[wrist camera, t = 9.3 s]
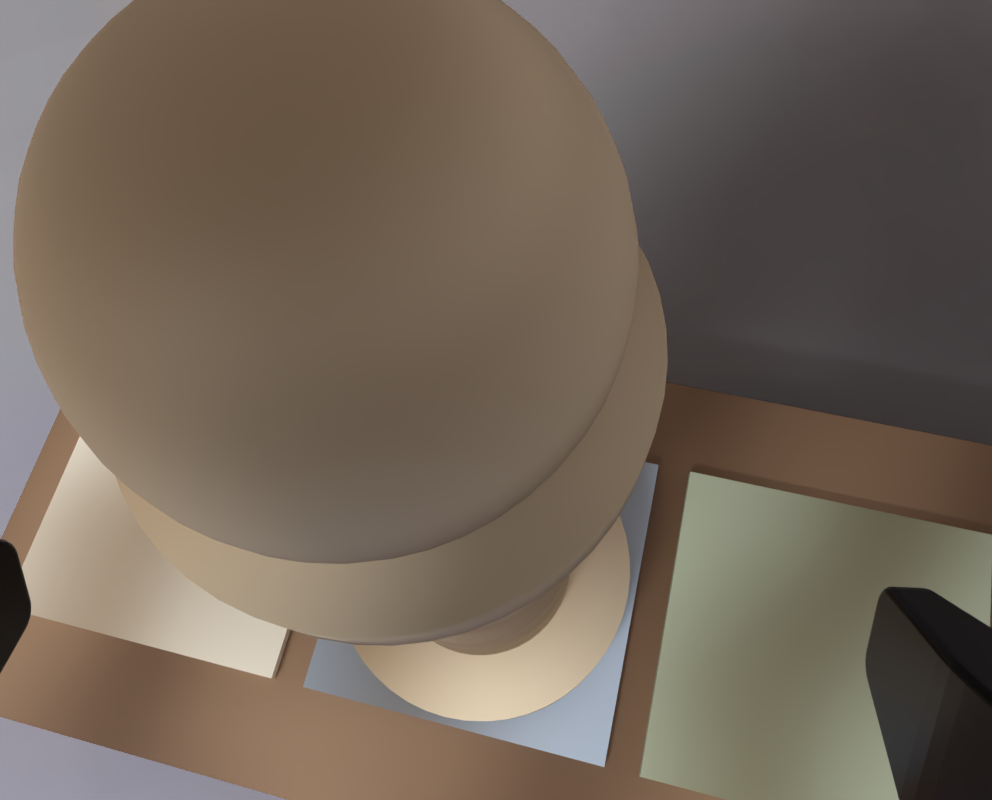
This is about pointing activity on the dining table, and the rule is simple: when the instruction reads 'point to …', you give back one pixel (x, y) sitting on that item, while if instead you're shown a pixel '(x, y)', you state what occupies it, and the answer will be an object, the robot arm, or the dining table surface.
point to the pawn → (355, 326)
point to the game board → (602, 694)
